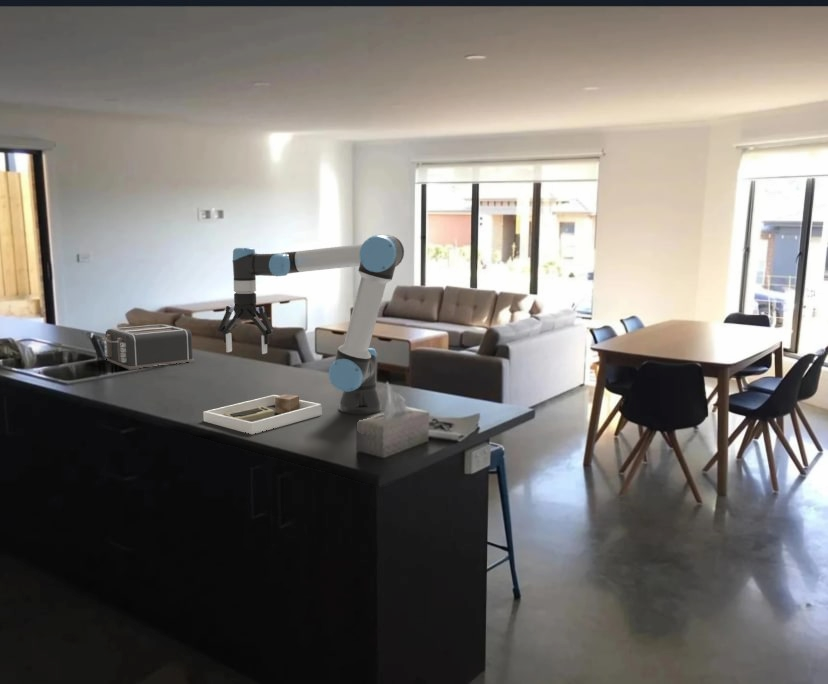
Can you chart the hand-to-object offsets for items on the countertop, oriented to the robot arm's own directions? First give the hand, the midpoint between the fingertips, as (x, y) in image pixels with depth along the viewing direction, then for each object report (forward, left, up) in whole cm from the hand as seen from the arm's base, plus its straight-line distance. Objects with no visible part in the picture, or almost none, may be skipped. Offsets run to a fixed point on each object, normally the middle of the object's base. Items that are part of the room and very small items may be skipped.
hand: (246, 352), depth 258 cm
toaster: (+109, -31, -22) cm, 115 cm away
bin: (-12, +3, -22) cm, 25 cm away
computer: (-12, +8, -22) cm, 27 cm away
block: (-12, -8, -22) cm, 26 cm away
